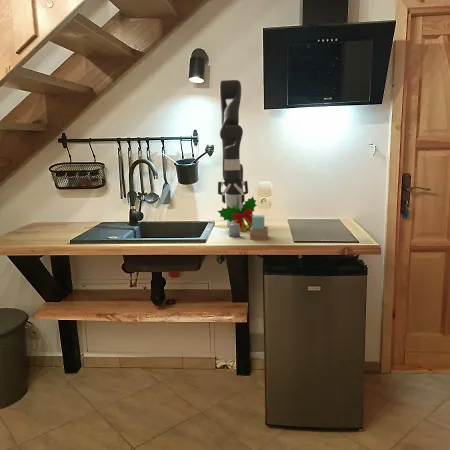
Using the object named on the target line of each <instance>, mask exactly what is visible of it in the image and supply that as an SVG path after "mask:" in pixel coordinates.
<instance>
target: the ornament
mask: <svg viewBox="0 0 450 450" xmlns="http://www.w3.org/2000/svg"><path fill="white" fill-rule="evenodd" d="M256 202H257V200H255V198H254V196H252V197H251V198H247V200H245V201H244V203H243V205H242V206H243V208H241V211H240V209H236V208H235V207H234V208H230V207H229V206H228V207H226V208H224V207H222V209H221V210H217V212H218V214H220V215H219V217H220V218H223V221H227V220H229V221H230V222H231V221H232V220H234V221H235V223H239V224H240V232H244V231H246V230H248V228H249V229H250V228H251V226H252V216H253V215H254V214H253V212H255V208H256V207H257V206H258V204H256ZM243 218H244V219H243ZM245 222H246V223H247V225H246V224H245ZM247 226H248V228H247Z"/></svg>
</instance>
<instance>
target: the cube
mask: <svg viewBox="0 0 450 450" xmlns="http://www.w3.org/2000/svg"><path fill="white" fill-rule="evenodd" d="M264 226H265V215H263V214H262V215H258V214H257V215H255V214H253V216H252V229H264Z"/></svg>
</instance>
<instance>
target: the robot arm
mask: <svg viewBox="0 0 450 450" xmlns="http://www.w3.org/2000/svg"><path fill="white" fill-rule="evenodd" d="M218 88H219V89H218V91H219V92H218V93H219V103H220V104H219V105H220V116H221V117H220V121H221V123H220V125H221V127H220V129H219V137H220V139H221V144H222V179H223V180H224V181H217V194H218V195H220V196H221V201H222V203H223V204H226V205H225V206H226V208H227V207H228V206H229V207H230V208H234V207H235V208H236V209H240V211H241V208H243V206H242V205H244V203H245V201H246V200H245V195H248V194H249V186H248V185H249V183H248V181H247V180H245V181H244V167H243V164H242V163H241V159H240V158H241V157H240V149H241V148H240V147H241V143H242V138H243V135H244V132H243V131H244V130H243V128H242V126H241V125H240V124H239V122H240V121H239V120H240V119H239V117H240V116H239V115H240V114H239V112H240V105H241V99H242V85H241V81H240V80H238V79H227V80H220V82H219V85H218ZM227 100H232V101H230V103H227ZM223 185H224V186H225V189H224V190H223V192H222V187H223ZM243 219H244V218H243ZM244 220H245V219H244ZM230 223H235V221H234V220H232V221H231V222H230V221H229V220H226V226H227V227H229V224H230Z"/></svg>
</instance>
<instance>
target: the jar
mask: <svg viewBox="0 0 450 450" xmlns="http://www.w3.org/2000/svg"><path fill="white" fill-rule="evenodd" d="M228 236H229V238H240V237H241V231H240V224H239V223H230V224H229V226H228Z"/></svg>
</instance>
